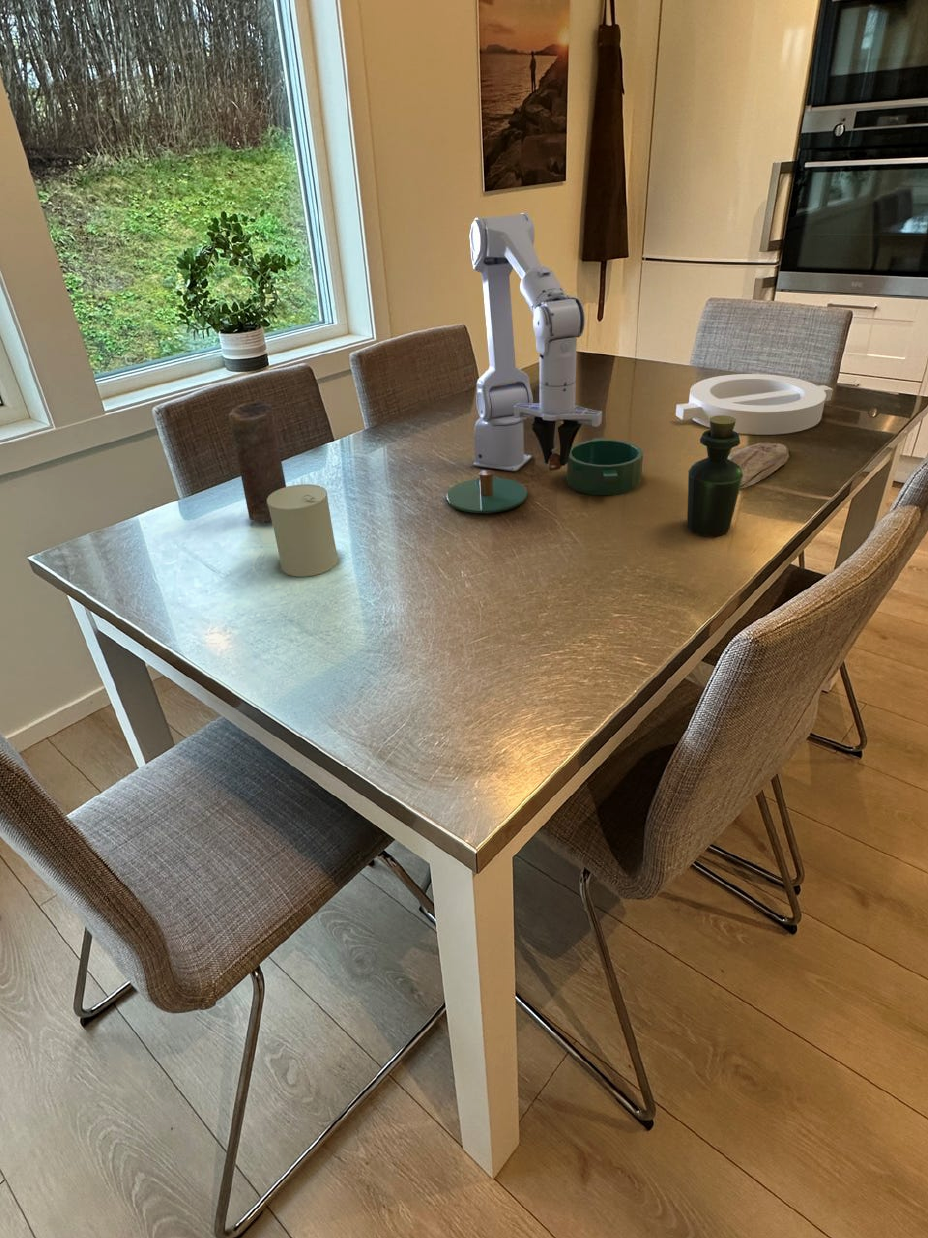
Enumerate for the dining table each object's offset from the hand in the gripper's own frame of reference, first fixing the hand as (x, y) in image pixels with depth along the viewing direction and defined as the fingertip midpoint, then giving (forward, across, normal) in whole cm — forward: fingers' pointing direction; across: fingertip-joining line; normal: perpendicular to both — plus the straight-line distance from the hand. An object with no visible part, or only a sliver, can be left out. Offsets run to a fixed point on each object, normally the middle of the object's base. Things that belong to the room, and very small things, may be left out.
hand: (556, 462), depth 125 cm
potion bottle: (+9, +26, +2) cm, 27 cm away
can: (+9, -29, -32) cm, 44 cm away
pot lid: (+8, -13, 0) cm, 16 cm away
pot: (+9, +4, +15) cm, 18 cm away
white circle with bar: (+9, +22, +62) cm, 67 cm away
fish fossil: (+9, +26, +29) cm, 40 cm away
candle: (+9, -46, -21) cm, 52 cm away
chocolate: (+2, 0, 0) cm, 2 cm away
